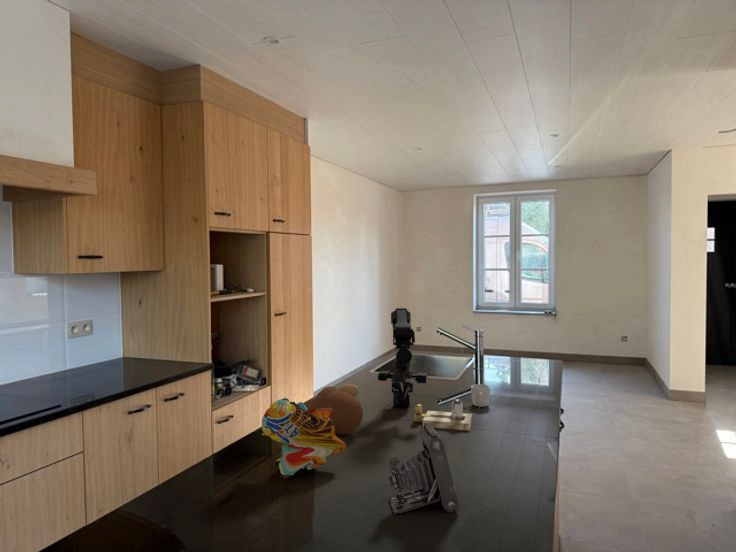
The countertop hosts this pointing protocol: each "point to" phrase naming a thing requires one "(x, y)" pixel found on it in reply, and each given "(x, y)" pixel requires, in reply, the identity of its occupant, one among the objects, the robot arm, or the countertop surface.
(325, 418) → the multicolored irregular chunky piece
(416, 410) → the pin
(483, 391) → the cup
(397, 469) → the camera
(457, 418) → the cylinder
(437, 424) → the dock
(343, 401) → the toy
